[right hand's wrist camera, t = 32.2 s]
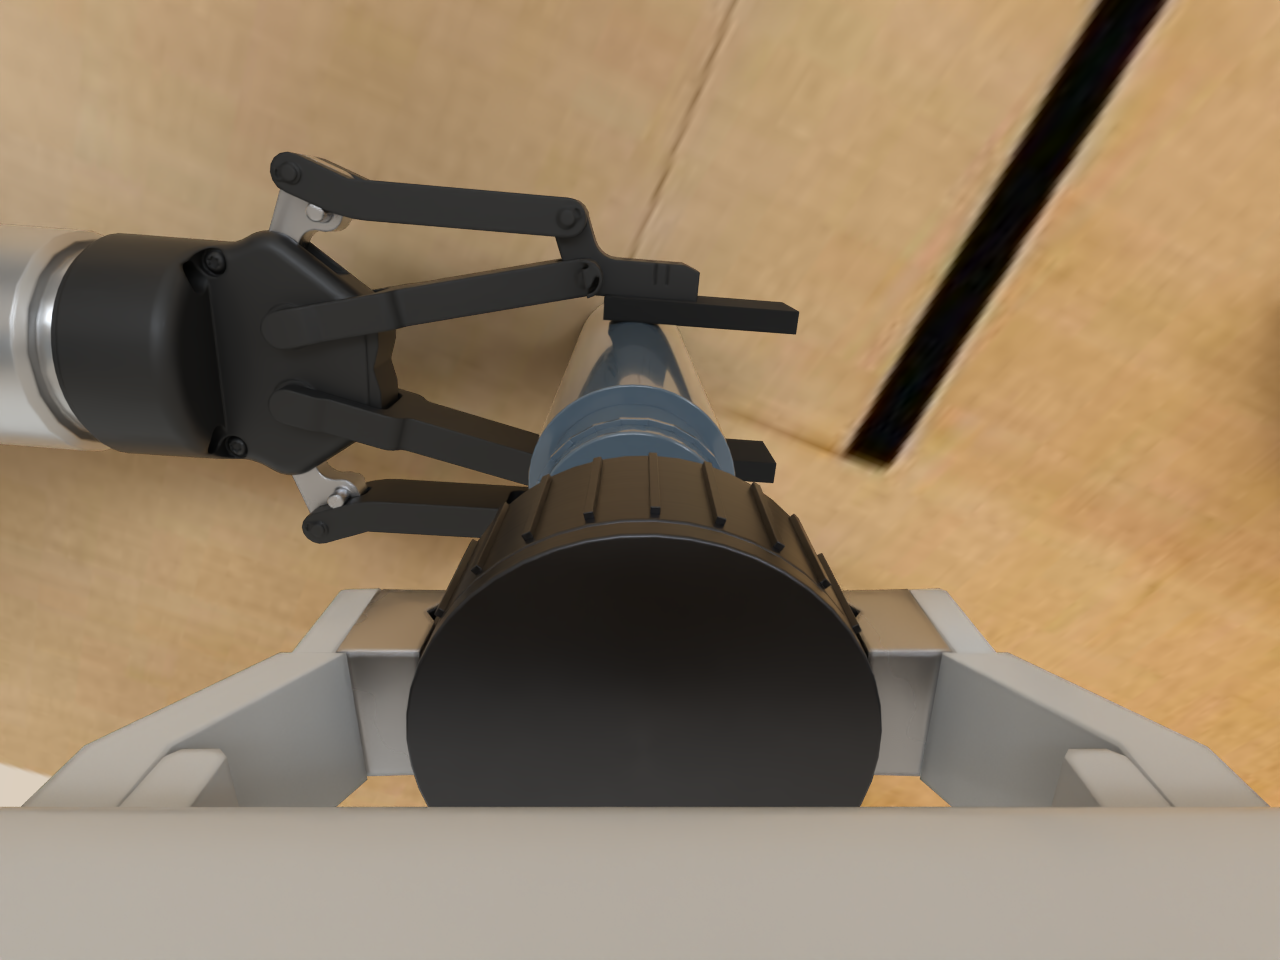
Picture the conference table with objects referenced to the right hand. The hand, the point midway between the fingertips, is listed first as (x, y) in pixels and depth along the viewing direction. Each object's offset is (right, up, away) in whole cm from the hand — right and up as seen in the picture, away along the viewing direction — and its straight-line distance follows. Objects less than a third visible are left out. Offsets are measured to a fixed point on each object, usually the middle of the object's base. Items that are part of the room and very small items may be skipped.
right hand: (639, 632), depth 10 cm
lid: (0, -1, -2) cm, 2 cm away
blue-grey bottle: (0, +8, +22) cm, 24 cm away
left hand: (+5, +5, +16) cm, 18 cm away
